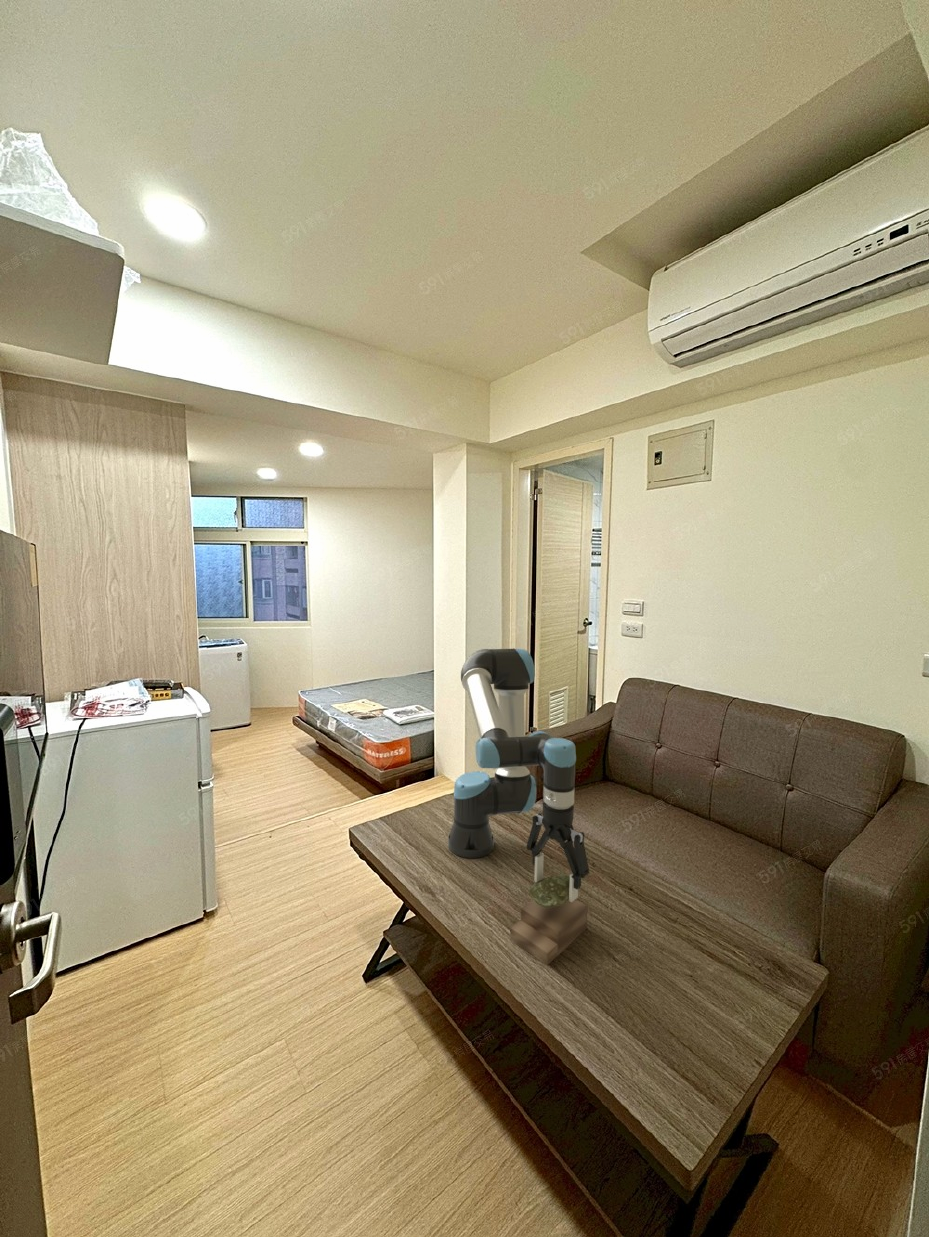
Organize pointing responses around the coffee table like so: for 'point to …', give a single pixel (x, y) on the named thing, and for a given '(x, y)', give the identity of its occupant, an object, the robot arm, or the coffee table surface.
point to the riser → (549, 928)
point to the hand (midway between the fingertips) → (555, 888)
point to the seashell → (551, 890)
